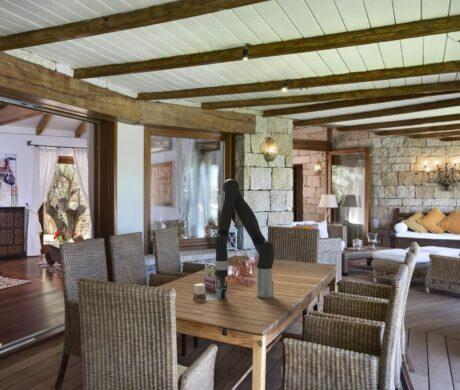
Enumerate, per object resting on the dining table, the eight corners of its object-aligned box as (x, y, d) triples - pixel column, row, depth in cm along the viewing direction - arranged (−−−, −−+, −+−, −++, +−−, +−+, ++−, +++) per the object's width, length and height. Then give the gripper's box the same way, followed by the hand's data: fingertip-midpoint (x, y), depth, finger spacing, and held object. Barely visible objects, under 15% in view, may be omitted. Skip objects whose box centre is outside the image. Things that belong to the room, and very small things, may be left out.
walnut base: (202, 296, 236) (202, 291, 236) (206, 299, 230) (206, 294, 230) (193, 297, 234) (193, 292, 234) (196, 300, 228) (196, 294, 228)
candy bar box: (220, 290, 251) (221, 264, 251) (214, 292, 248) (214, 265, 248) (210, 287, 260) (210, 262, 259) (204, 288, 256) (204, 263, 256)
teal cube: (223, 296, 237) (223, 288, 236) (226, 298, 232) (226, 290, 232) (216, 297, 235) (216, 289, 235) (219, 299, 231) (219, 291, 231)
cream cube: (202, 291, 235) (202, 283, 235) (205, 293, 230) (205, 285, 230) (194, 292, 233) (194, 284, 233) (196, 294, 229) (196, 286, 228)
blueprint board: (218, 293, 243) (218, 293, 243) (225, 299, 231) (225, 298, 231) (190, 296, 237) (190, 295, 237) (196, 302, 225) (196, 301, 225)
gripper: (232, 270, 228) (231, 299, 228) (223, 265, 241) (223, 293, 242) (219, 271, 225) (219, 301, 226) (211, 266, 239) (211, 294, 239)
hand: (221, 297), depth 234 cm, fingers closed on teal cube, 4 cm apart
